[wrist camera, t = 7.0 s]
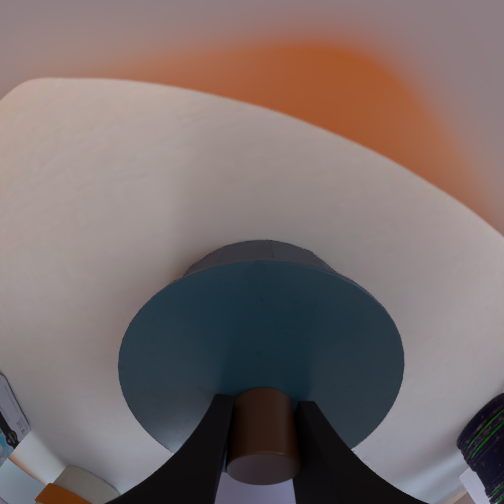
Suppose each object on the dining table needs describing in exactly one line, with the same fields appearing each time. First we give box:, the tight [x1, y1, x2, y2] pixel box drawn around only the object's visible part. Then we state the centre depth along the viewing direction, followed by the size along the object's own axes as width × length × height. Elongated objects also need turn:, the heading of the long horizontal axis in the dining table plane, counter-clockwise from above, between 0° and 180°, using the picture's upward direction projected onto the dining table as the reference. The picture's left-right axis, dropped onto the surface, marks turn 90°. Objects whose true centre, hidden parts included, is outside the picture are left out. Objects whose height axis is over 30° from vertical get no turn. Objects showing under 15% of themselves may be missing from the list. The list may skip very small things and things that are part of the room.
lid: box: [118, 258, 404, 486], centre depth 8 cm, size 12×12×4 cm
